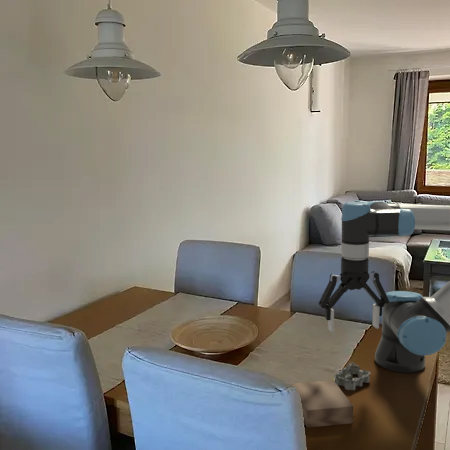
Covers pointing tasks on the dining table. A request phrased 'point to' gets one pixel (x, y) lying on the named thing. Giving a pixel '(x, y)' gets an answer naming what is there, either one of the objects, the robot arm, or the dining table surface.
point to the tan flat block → (324, 404)
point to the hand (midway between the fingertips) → (353, 328)
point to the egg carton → (351, 377)
